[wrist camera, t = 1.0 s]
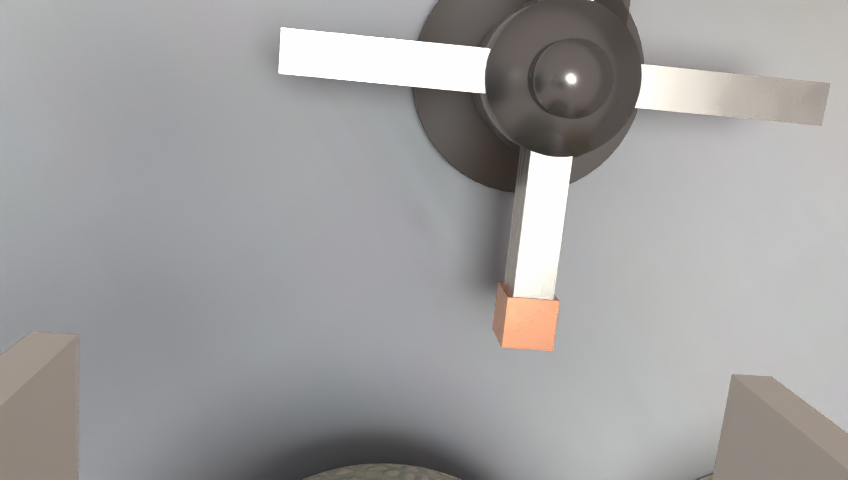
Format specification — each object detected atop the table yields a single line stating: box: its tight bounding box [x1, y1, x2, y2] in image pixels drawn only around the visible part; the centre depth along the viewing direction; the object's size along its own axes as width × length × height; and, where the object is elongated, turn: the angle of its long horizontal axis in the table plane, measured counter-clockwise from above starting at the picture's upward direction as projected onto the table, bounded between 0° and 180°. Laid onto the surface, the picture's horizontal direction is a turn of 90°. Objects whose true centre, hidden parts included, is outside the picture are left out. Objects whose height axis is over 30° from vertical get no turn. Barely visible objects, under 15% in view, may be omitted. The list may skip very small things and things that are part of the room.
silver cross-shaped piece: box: [279, 0, 830, 351], centre depth 26 cm, size 18×18×6 cm
